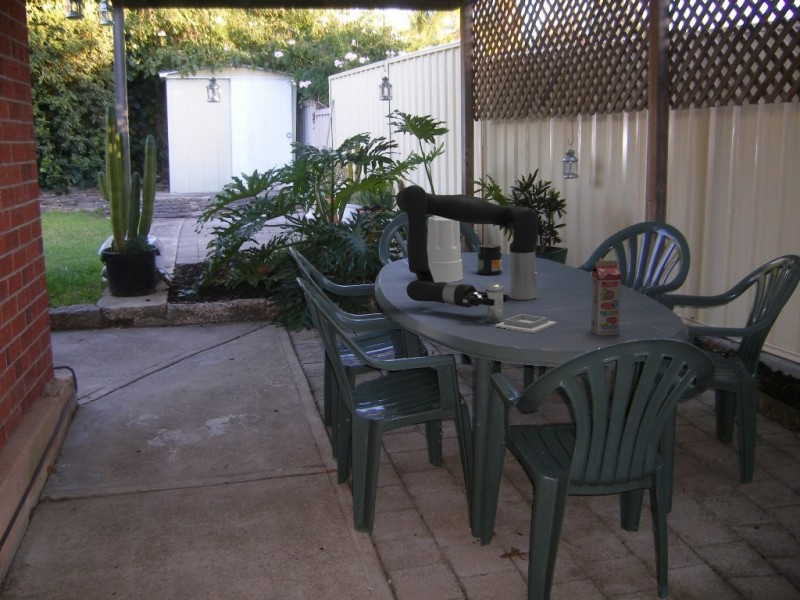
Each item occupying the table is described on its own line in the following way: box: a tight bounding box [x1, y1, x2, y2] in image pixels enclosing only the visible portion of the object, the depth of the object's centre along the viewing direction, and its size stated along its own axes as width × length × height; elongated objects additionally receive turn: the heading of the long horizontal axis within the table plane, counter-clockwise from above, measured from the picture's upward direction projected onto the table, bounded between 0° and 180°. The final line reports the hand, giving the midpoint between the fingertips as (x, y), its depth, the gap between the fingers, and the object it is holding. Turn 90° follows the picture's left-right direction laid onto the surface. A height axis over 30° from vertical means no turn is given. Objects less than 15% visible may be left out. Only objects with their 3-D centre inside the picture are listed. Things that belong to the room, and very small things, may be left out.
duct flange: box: [494, 313, 557, 334], centre depth 262 cm, size 14×14×2 cm
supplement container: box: [476, 243, 503, 276], centre depth 353 cm, size 10×10×12 cm
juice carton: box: [590, 260, 622, 337], centre depth 250 cm, size 7×7×22 cm
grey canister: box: [486, 282, 505, 323], centre depth 269 cm, size 6×6×12 cm
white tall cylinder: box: [427, 215, 464, 283], centre depth 342 cm, size 15×15×33 cm
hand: (500, 300), depth 267 cm, fingers open, 7 cm apart
